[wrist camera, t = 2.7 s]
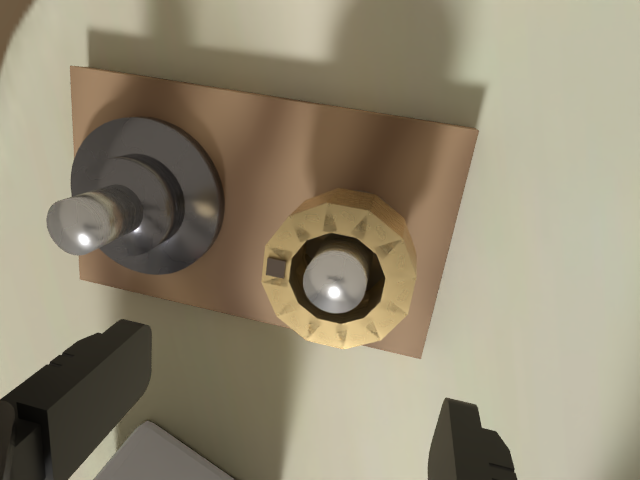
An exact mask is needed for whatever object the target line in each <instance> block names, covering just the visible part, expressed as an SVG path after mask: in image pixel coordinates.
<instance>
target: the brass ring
mask: <svg viewBox="0 0 640 480" xmlns="http://www.w3.org/2000/svg"><path fill="white" fill-rule="evenodd" d="M328 233H335V234H340V235H345V236H350V237H355V238H357V239H358V240H360V241H361V242H362V243H363V244H364V245H366V246H367V247H368V248H369V249H370V250H372V251H373V252H374V253H375V254H376V255H377V257H378V259H379V262H380V265H381V267H382V270H383V273H384V276H383V277H382V278H381V279H380V280H379V281H378V282H377V283H376V284H375V285H374V286H373V287H372V289H370V290H366V291H365V294H364V297H363V299H362V300H361V302H360V303H359V304H358V305H357V306H356V307H355V308H353V309H352V310H350V311H347V312H344V313H329V312H326V311H323V310H321V309H319V308H318V307H316V306H315V305H314V304H313V303H312V302H311V301H310V300H309V299H308V297H307V295H306V293H305V291H304V287H303V277H304V273H305V270H306V269H307V267H308V264H307V262H306V259H305V252H306V245H307V240H310V239H313V238H316V237H319V236H322V235H325V234H328ZM416 278H417V254H416V250H415V247H414V244H413V241H412V238H411V235H410V233H409V230H408V227H407V224H406V221H405V219H404V218H403V217H402V216H401V215H400V214H398V213H397V212H396V211H395V210H394V209H392V208H391V207H390V206H389V205H388V204H386V203H385V202H384V201H383V200H382V199H380V198H379V197H378V196H377V195H375V194H370V193H364V192H359V191H353V190H348V189H343V188H337V189H334V190H332V191H329V192H326V193H323V194H320V195H318V196H315V197H312V198H309V199H306V200H305V201H304V202H303V203H302V204H301V205H300V206H299V207H298V208H297V209H296V210H295V211H294V212H293V213H292V214H291V215H289V216H288V218H287V219H286V220H285V222H284V223H283V224H282V225H281V227H280V228H279V229H278V230H277V232H276V233H275V234H274V235H273V237H272V238H271V239H270V240H269V242H268V243H267V244H266V245H265V252H264V262H263V271H262V281H261V283H262V285H263V287H264V289H265V292H266V294H267V296H268V298H269V301H270V303H271V305H272V307H273V310H274V312H275V314H276V316H277V317H278V318H279V319H280V320H282V321H283V322H284V323H285V324H287V325H288V326H289V327H290V328H292V329H293V330H294V331H295V332H296V333H298V334H299V335H300V336H301V337H303V338H304V339H305V340H306V341H311V342H315V343H319V344H323V345H328V346H332V347H336V348H340V349H348V348H352V347H356V346H360V345H364V344H368V343H372V342H376V341H381V340H382V339H383V338H384V337H385V336H386V335H387V334H388V333H389V332H390V331H391V330H392V329H393V328H394V327H395V326H396V325H397V324H399V323H400V322H401V321H402V320H403V319H404V318H405V317H406V316H407V315H408V312H409V308H410V303H411V299H412V295H413V291H414V286H415V282H416Z"/></svg>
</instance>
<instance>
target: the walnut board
mask: <svg viewBox="0 0 640 480" xmlns="http://www.w3.org/2000/svg"><path fill="white" fill-rule="evenodd" d="M70 77H71V98H72V120H73V142H74V158H75V156H76V153H77V151H78V149H79V147H80V145H81V144H82V142H83V141H84V140H85V138H86V137H87V136H88V135H89V134H90V133H91V132H92V131H93V130H95V129H96V128H97V127H99V126H101V125H102V124H104V123H107V122H109V121H112V120H115V119H120V118H128V117H143V116H144V117H153V118H157V119H161V120H165V121H167V122H170V123H172V124H174V125H176V126H178V127H179V128H181V129H183V130H184V131H186V132H187V133H188V134H190V135H191V136H192V137H193V138H194V139H195V140H196V141H197V142H198V143H199V144H200V145H201V146H202V147H203V148H204V150H205V151H206V152H207V154H208V155H209V157H210V158H211V160H212V161H213V163H214V165H215V167H216V169H217V171H218V174H219V177H220V179H221V183H222V187H223V191H224V199H225V212H224V219H223V224H222V227H221V230H220V233H219V235H218V237H217V239H216V241H215V242H214V244H213V245H212V247H211V248H210V249H209V250H208V251H207V252H206V253H205V254H204V255H203V256H202V257H201V258H199V259H198V260H197V261H195V262H194V263H193V264H191V265H190V266H188V267H186V268H185V269H182V270H180V271H178V272H174V273H170V274H163V275H151V274H144V273H140V272H136V271H133V270H131V269H128V268H126V267H124V266H122V265H120V264H118V263H117V262H115V261H114V260H112V259H111V258H109V257H108V256H107V255H106V254H105V253H103V252H102V251H101V250H100V249H99V248H98V249H96V250H94V251H92V252H90V253H88V254H85V255H79V271H80V279H81V280H85V281H89V282H94V283H98V284H102V285H106V286H111V287H115V288H119V289H123V290H128V291H132V292H136V293H141V294H145V295H149V296H153V297H158V298H162V299H166V300H171V301H175V302H179V303H183V304H188V305H192V306H196V307H201V308H205V309H209V310H213V311H218V312H222V313H226V314H230V315H235V316H239V317H243V318H248V319H252V320H256V321H260V322H265V323H269V324H273V325H278V326H282V327H286V328H290V327H289V326H288V325H287V324H285V323H284V322H283V321H282V320H280V319H279V318H278V317H277V316H276V314H275V312H274V310H273V307H272V305H271V303H270V301H269V298H268V296H267V294H266V292H265V289H264V287H263V285H262V283H261V281H262V271H263V262H264V252H265V245H266V244H267V243H268V242H269V240H270V239H271V238H272V237H273V235H274V234H275V233H276V232H277V230H278V229H279V228H280V227H281V225H282V224H283V223H284V222H285V220H286V219H287V218H288V216H289V215H291V214H292V213H293V212H294V211H295V210H296V209H297V208H298V207H299V206H300V205H301V204H302V203H303V202H304V201H305V200H306V199H309V198H312V197H315V196H318V195H320V194H323V193H326V192H329V191H332V190H334V189H337V188H343V189H348V190H362V191H366V192H370V193H372V194H375V195H377V196H378V197H380V198H382V199H383V200H384V201H386V202H387V203H388V204H389V205H390V206H391V207H392V209H394V210H395V211H396V212H397V213H398V214H400V215H401V216H402V217H403V218H404V219H405V221H406V224H407V227H408V230H409V233H410V235H411V238H412V241H413V244H414V247H415V250H416V254H417V278H416V282H415V286H414V291H413V295H412V299H411V303H410V308H409V312H408V315H407V316H406V317H405V318H404V319H403V320H402V321H401V322H400V323H399V324H397V325H396V326H395V327H394V328H393V329H392V330H391V331H390V332H389V333H388V334H387V335H386V336H385V337H384V338H383V339H382V340H381V341H376V342H372V343H368V344H364V345H363V346H367V347H372V348H376V349H380V350H384V351H389V352H393V353H397V354H402V355H406V356H410V357H414V358H419V359H421V356H422V352H423V348H424V344H425V340H426V336H427V332H428V329H429V325H430V321H431V317H432V313H433V309H434V305H435V301H436V297H437V293H438V289H439V285H440V281H441V278H442V274H443V270H444V266H445V262H446V258H447V254H448V250H449V246H450V242H451V238H452V234H453V230H454V227H455V223H456V219H457V215H458V211H459V207H460V203H461V199H462V195H463V191H464V187H465V183H466V179H467V175H468V172H469V168H470V164H471V160H472V156H473V152H474V148H475V144H476V140H477V136H478V132H479V130H477V129H476V128H471V127H465V126H458V125H452V124H445V123H439V122H433V121H426V120H420V119H414V118H407V117H401V116H395V115H388V114H382V113H376V112H369V111H363V110H357V109H350V108H344V107H338V106H331V105H325V104H319V103H312V102H306V101H300V100H293V99H287V98H281V97H274V96H268V95H261V94H255V93H249V92H242V91H236V90H230V89H223V88H217V87H211V86H204V85H198V84H192V83H185V82H179V81H173V80H166V79H160V78H154V77H147V76H141V75H135V74H128V73H122V72H116V71H109V70H103V69H97V68H90V67H79V66H70ZM290 329H292V328H290Z"/></svg>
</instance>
